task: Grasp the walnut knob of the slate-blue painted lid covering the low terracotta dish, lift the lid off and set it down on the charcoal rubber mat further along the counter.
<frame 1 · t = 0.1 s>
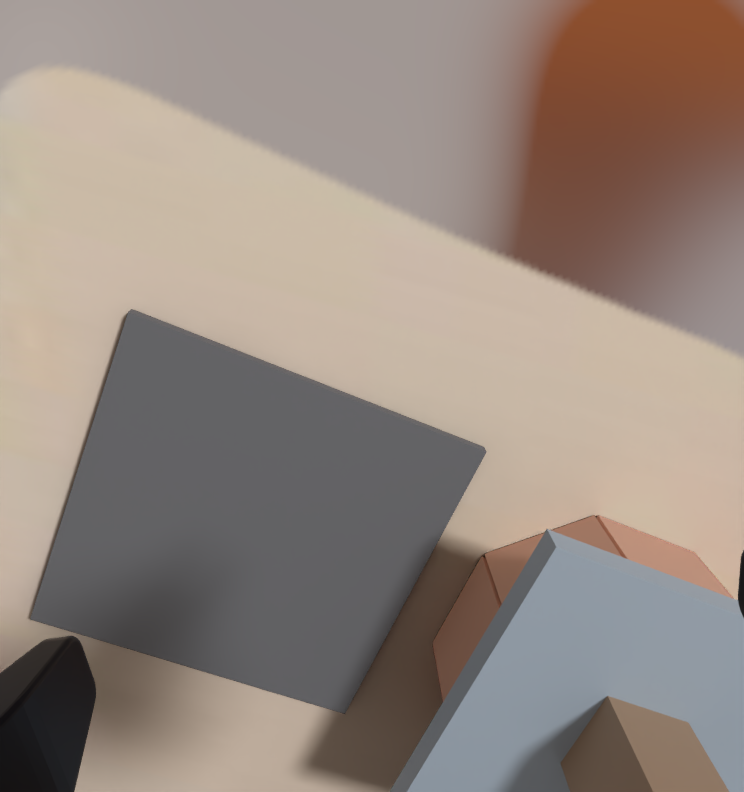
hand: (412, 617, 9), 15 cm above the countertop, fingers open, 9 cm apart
lid: (612, 719, 24), point 4 cm above the countertop, touching dish
mat: (251, 532, 25), on the countertop
dish: (576, 641, 28), on the countertop
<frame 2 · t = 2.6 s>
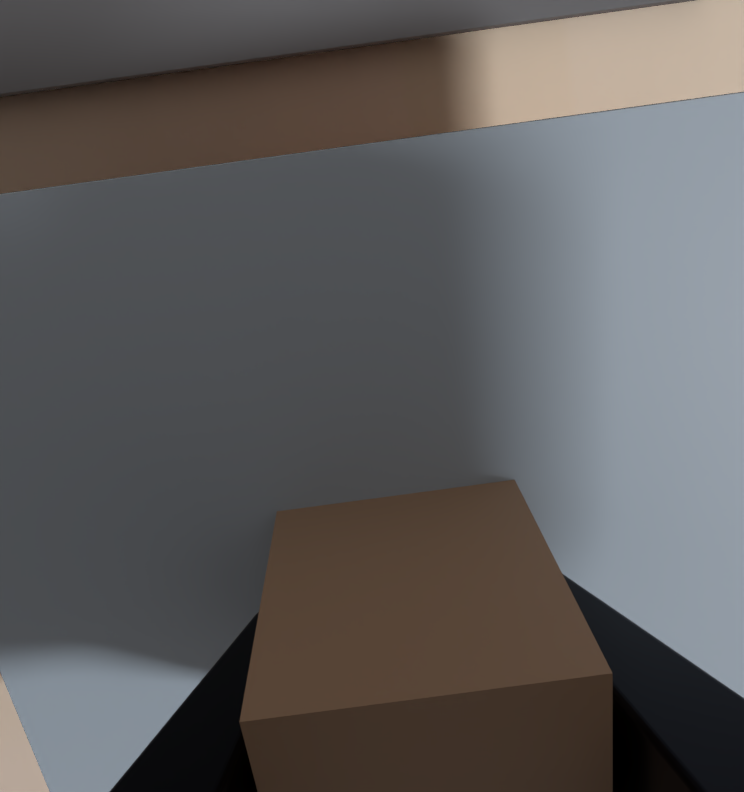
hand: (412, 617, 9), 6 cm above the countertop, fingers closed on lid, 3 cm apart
lid: (402, 553, 11), point 4 cm above the countertop, touching dish, gripper
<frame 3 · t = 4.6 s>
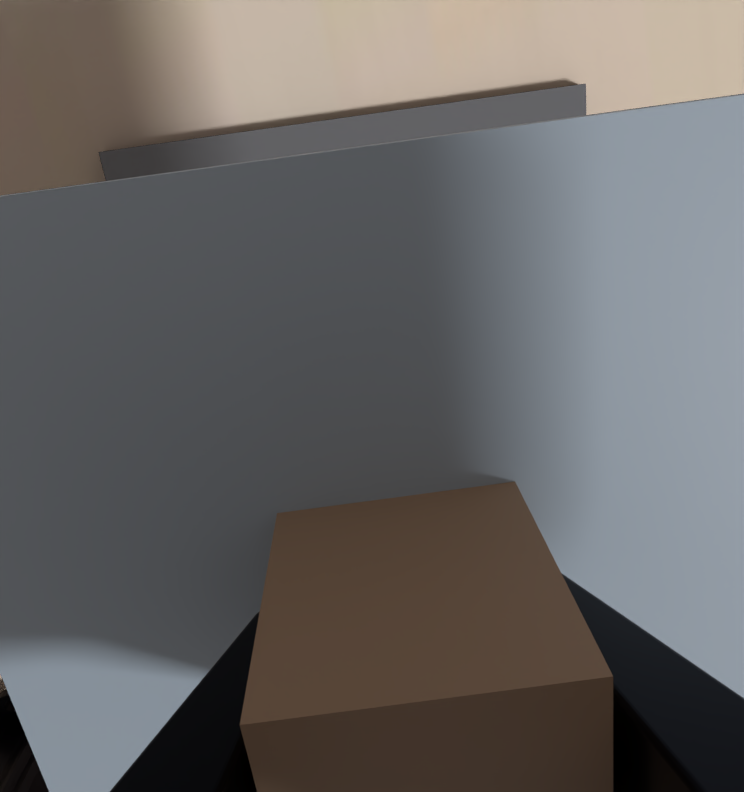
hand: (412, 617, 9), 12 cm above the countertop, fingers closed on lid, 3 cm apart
lid: (402, 555, 11), point 11 cm above the countertop, touching gripper
mat: (372, 347, 21), on the countertop
when the fingers open (3 cm above the countertop, at t = 6.5 s): lid drops 1 cm, resting on mat.
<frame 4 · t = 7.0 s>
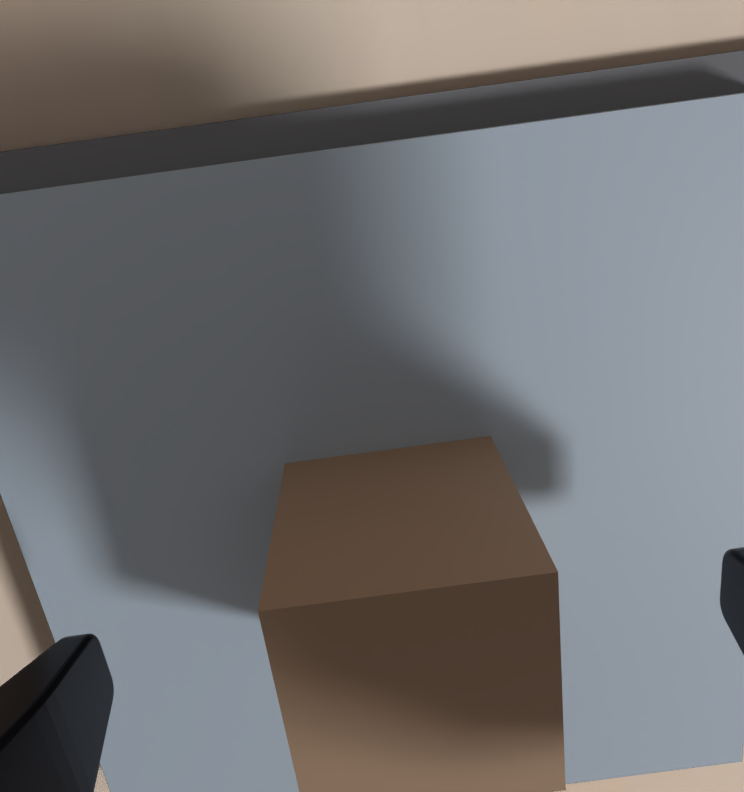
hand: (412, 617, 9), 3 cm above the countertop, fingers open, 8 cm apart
lid: (394, 506, 12), resting on mat
mat: (395, 492, 12), on the countertop
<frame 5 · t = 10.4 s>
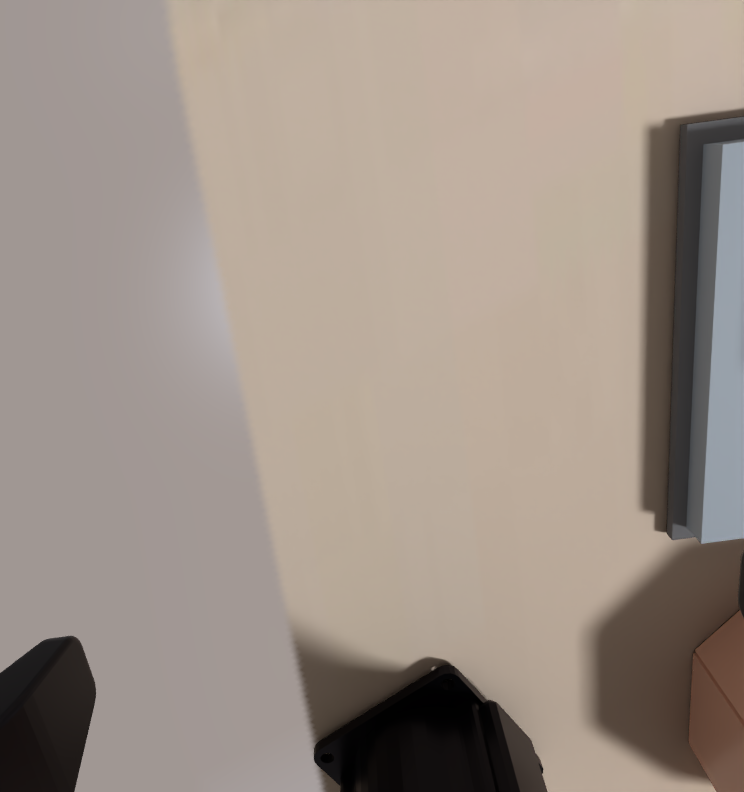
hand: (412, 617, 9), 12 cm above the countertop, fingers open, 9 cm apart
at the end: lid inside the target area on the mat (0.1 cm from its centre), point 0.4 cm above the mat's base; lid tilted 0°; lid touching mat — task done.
